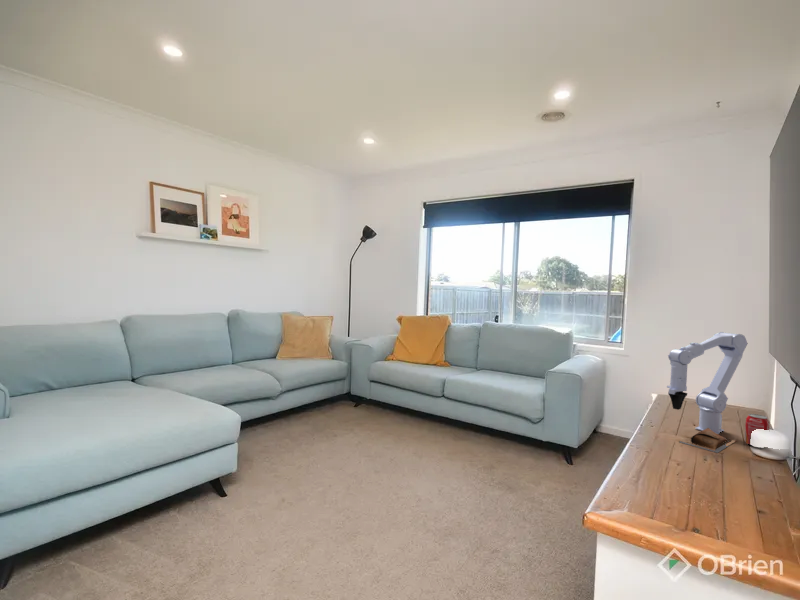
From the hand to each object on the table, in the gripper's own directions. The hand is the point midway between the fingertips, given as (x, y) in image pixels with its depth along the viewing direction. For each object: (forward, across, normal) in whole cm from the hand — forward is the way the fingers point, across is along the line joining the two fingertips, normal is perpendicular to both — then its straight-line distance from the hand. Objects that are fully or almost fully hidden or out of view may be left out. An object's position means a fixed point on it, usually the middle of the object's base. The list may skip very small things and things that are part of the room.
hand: (676, 408), depth 174 cm
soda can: (+10, -8, +25) cm, 28 cm away
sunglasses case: (+10, +3, +13) cm, 17 cm away
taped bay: (+9, +4, +12) cm, 16 cm away
